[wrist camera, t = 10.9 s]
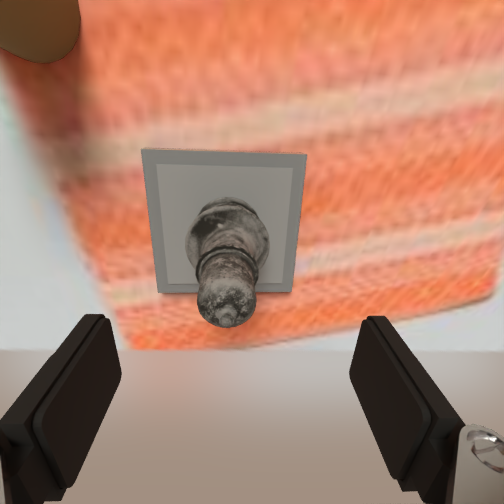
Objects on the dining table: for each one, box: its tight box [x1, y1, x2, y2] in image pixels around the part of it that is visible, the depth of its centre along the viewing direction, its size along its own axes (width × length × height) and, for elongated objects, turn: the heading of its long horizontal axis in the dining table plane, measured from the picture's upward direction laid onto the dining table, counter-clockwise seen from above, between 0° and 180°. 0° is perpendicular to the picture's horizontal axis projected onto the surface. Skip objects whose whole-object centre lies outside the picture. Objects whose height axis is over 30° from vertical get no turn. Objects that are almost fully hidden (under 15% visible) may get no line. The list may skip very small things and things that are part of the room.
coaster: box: [141, 148, 307, 293], centre depth 23 cm, size 12×12×1 cm
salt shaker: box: [185, 197, 270, 328], centre depth 17 cm, size 6×6×12 cm
